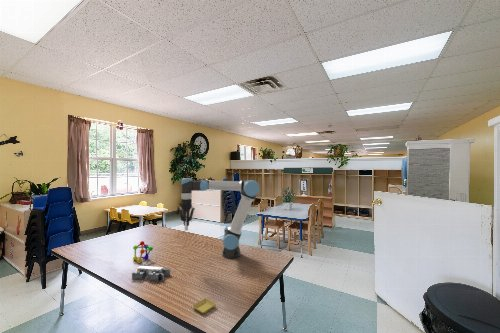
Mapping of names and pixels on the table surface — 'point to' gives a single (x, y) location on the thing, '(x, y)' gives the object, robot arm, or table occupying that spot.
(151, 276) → the dark grey blocks
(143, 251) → the educational toy
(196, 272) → the table surface
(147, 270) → the link bar
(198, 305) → the yellow tray
